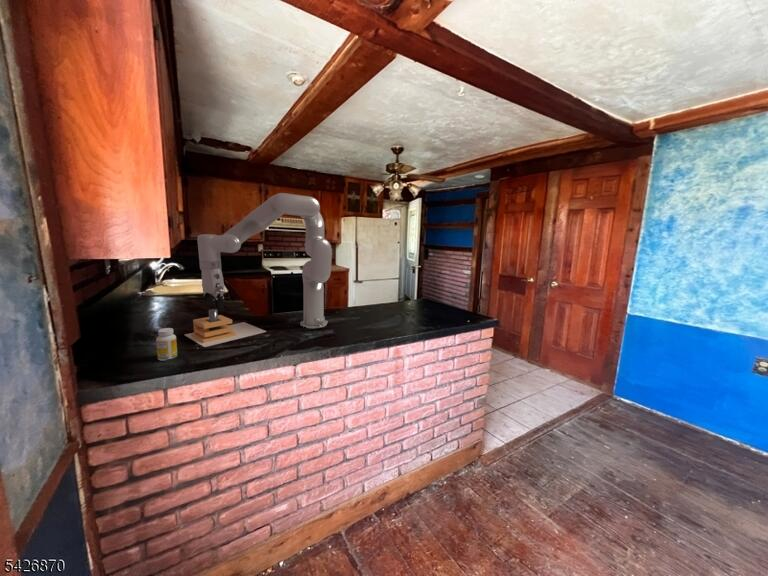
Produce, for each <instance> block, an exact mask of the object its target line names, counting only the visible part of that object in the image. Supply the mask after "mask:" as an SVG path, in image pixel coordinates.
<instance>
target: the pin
mask: <svg viewBox="0 0 768 576" xmlns="http://www.w3.org/2000/svg"><path fill="white" fill-rule="evenodd" d="M218 315H219V314H218V309H217V310H216V309H215V308H213V309H208V317H209V322H210V323H211V322H216V321H218ZM217 329H218V326H217V327H212V328H210V331H212V330H217Z"/></svg>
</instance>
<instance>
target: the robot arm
mask: <svg viewBox="0 0 768 576" xmlns="http://www.w3.org/2000/svg"><path fill="white" fill-rule="evenodd" d="M320 209H321V205H320V202H319V201H318V200H317V199H316V198H315V197H313V196H308V195H300V194H294V193H285V192H279V193H276V194H273V195H272V196H270V197H269V198H268V199H267V200H265V201H264V202H263V203H262V204H260V205H259V206H257V207H256V208H255V209H254V210H252V211H251V212H249V213H248V214H247V215H246V216H245V217H244V218H242V219H241V220H240V221H239V222H238V223H236V224H235V225H233V226H232V227H230V229H228V230H227V231H226V232H224V233H223V234H219V235H217V234H214V233H213V234H212V233H211V234H210V233H209V234H208V233H207V234H206V233H205V234H198V236H197V249H198V259H199V261H198V262H199V269H200V271H201V286H202V292H203V293H202V294H203V300H204V305H205V306H210V305H213V304H214V309H216V310H217V311H218V310H221V309H224V308H225V305H224V298H225V297H224V296H225V294H224V293H225V292H226V291H225V289H226V288H225V283H224V282H225V281H224V276H223V275H224V274H223V271H222V259H221V253H229V254H234V253H237V252H239V250H240V249H241V246H242V244H243V243H245V242H246V241H247V240H248V239H249V238H251V237H253V236H254V235H256V234H259V233H262V232H263V231H265V230H266V229H267V228H268V227H270V226H271V225H272V224H273V223H275V222H276V221H277V220H278V219H280V218H281V217H282V216H283V215H290V216H299V217H301V218H302V220H303V221H304V224H305V241H304V243H305V244H304V250H305V253H306V255H308V256H309V257H310V260H308V261H306V262H305V263H304V264H303V266H302V268H301V274H302V284H303V286H302V287H303V320H302V321H300V327H302V326H303V327H302V328H304V327H306V328H305V329H320V328H324V327H326V326H327V324H328V322H329V321H328V320H326V319H325V318H326V317H325V316H324V314H325V313H324V312H325V311H324V307H325V306H324V302H325V301H324V300H325V299H324V297H325V295H324V294H325V288H324V287H325V286H324V285H325V284H324V283H326V282H327V281H329V278H330V277H331V273H332V259H333V258H332V257H333V255H332V254H333V249H332V245H331V243H330V242H329V241H328V240H327V239H325V221H324V218H323V215H322V214H321V213H320V211H321V210H320ZM213 296H214V297H213ZM213 298H214V299H213Z"/></svg>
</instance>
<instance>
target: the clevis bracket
mask: <svg viewBox="0 0 768 576" xmlns="http://www.w3.org/2000/svg"><path fill="white" fill-rule="evenodd" d="M192 322H193V323H192V324H193V332H192V333H191V332H190V333H191V336H192V337H194V338H196V339H198V340H199V341H201V342H203V343H206V342H210V341H214V340H219V339H223V338H227V337H231V336H236V333H235V332H233V328H232V327H230V326H228V325H232V324H233V319H232V318H229V317H227V316H224V315H222V314H218V321H216V322H211V323H210V322H209V316H207V317H201V318H196V319H193V320H192ZM217 326H218V329H217V330H212V331H210V328H212V327H217Z"/></svg>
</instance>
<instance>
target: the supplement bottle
mask: <svg viewBox="0 0 768 576" xmlns="http://www.w3.org/2000/svg"><path fill="white" fill-rule="evenodd" d="M157 335H158V336H157V337H156V338H155V340H156V341H155V342H156V343H155V344H156V352H157V356H156V357H157V360H159V361H163V362H165V361H167V360H171V359H175V358H176V357H177V356H178V345H177V336H176V334H174V328H171V327H167V328H166V327H165V328H160V329H158V331H157Z"/></svg>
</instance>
